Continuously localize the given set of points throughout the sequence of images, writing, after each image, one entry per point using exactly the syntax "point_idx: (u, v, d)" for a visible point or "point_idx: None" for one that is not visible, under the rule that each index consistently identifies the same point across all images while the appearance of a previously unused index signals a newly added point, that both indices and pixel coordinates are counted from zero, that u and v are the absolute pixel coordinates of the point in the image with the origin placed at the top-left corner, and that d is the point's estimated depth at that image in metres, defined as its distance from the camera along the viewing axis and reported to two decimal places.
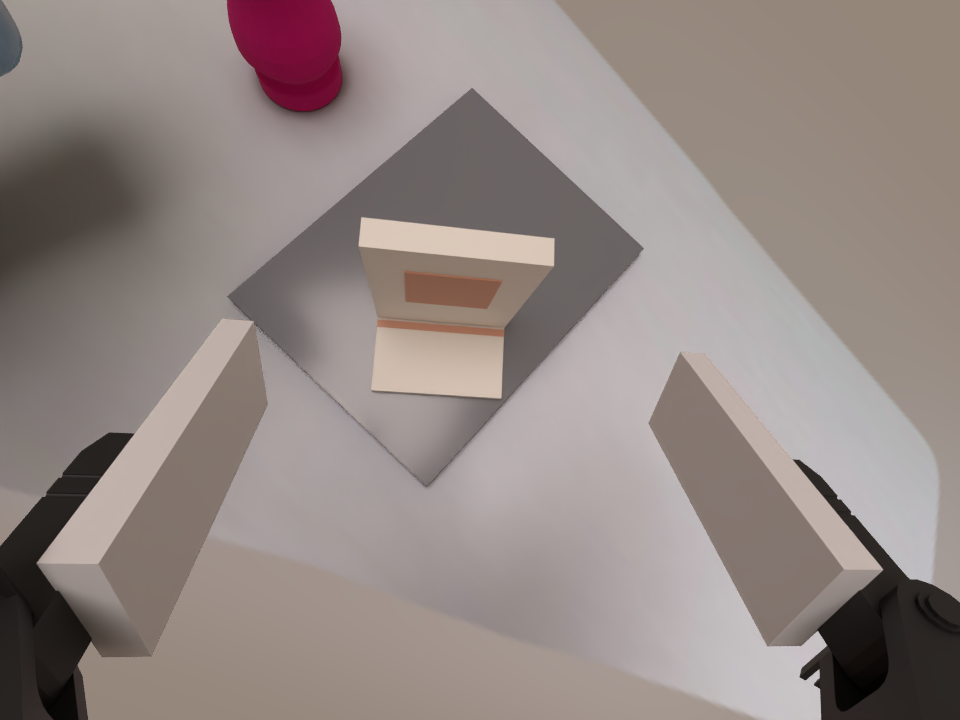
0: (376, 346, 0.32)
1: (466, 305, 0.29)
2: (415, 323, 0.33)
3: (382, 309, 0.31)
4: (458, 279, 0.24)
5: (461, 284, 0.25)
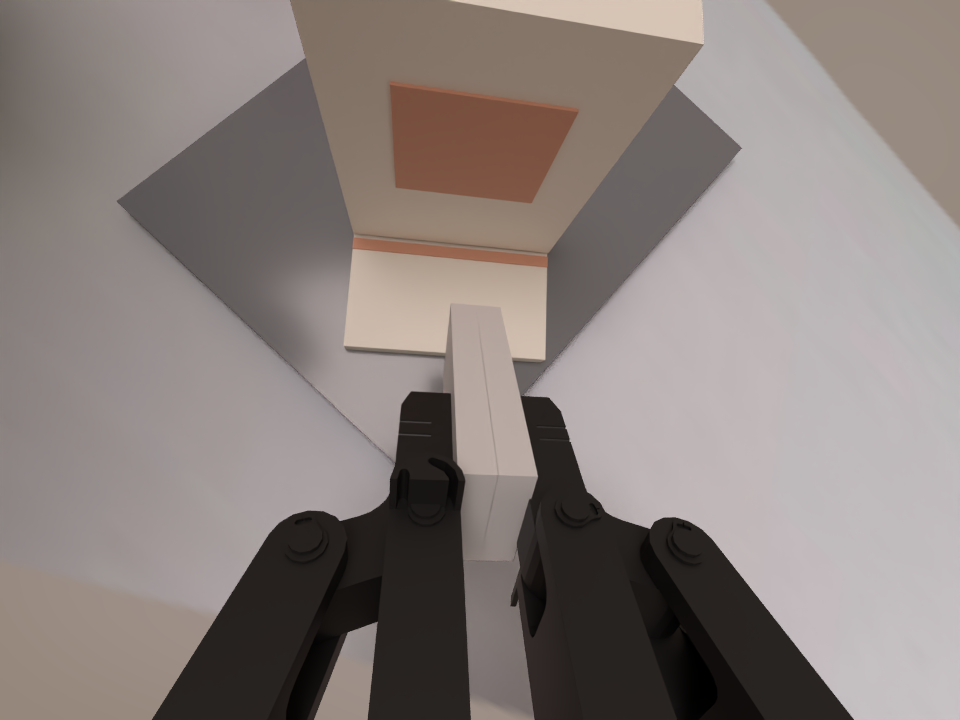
0: (351, 279, 0.21)
1: (498, 194, 0.17)
2: (412, 245, 0.21)
3: (358, 214, 0.19)
4: (494, 106, 0.13)
5: (499, 126, 0.13)
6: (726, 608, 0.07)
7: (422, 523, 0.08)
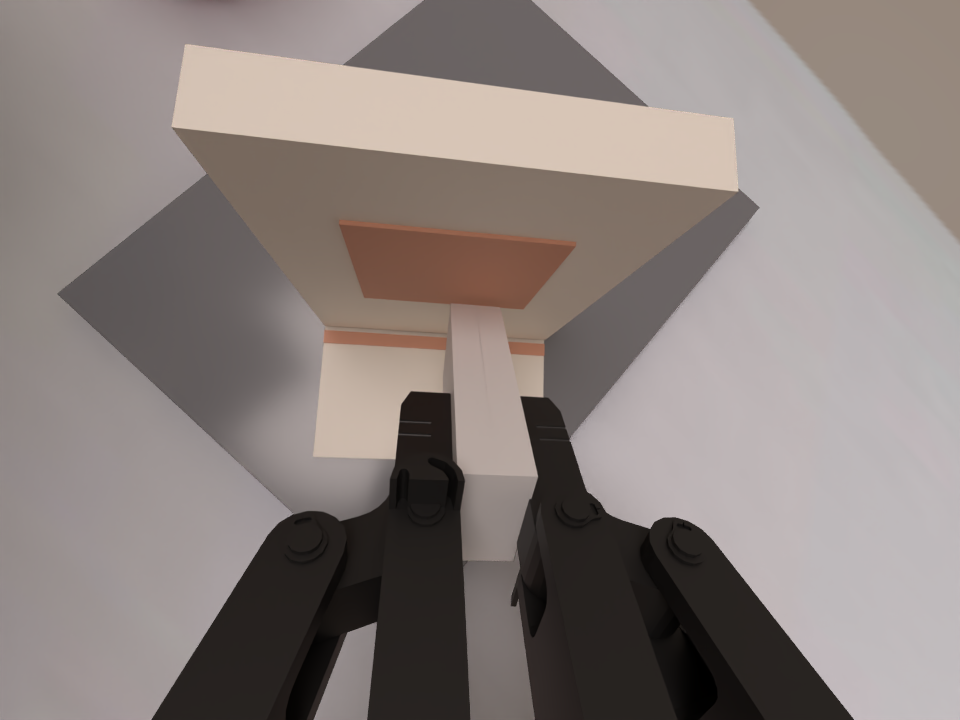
0: (322, 378, 0.18)
1: (484, 303, 0.15)
2: (391, 335, 0.19)
3: (326, 313, 0.17)
4: (472, 241, 0.10)
5: (479, 255, 0.11)
6: (726, 608, 0.07)
7: (422, 523, 0.08)
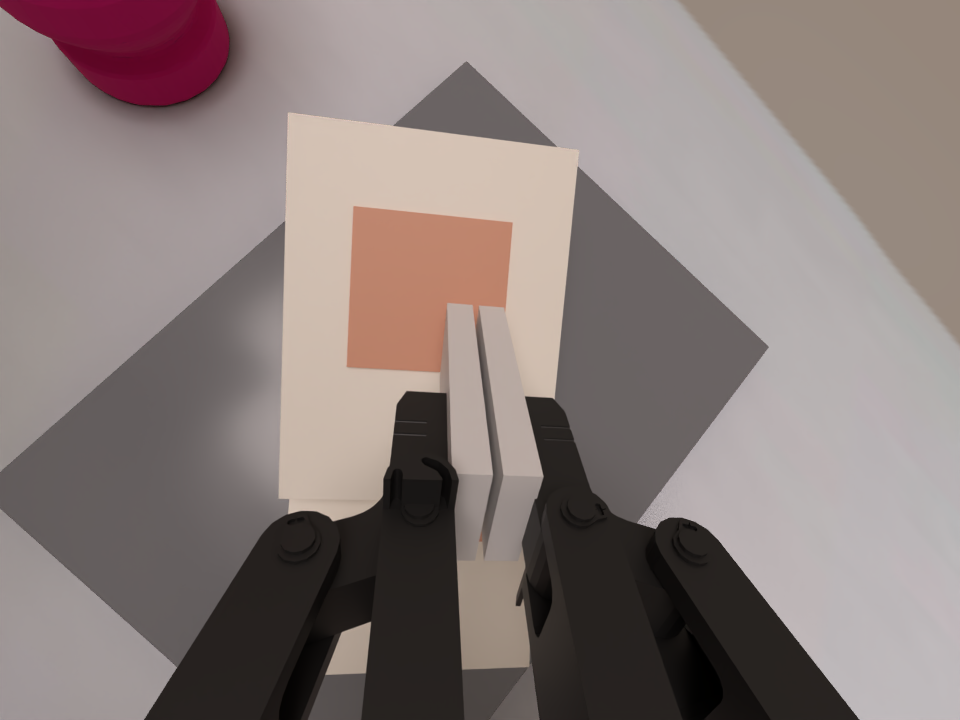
0: None
1: None
2: None
3: (293, 443, 0.15)
4: (442, 222, 0.15)
5: (449, 247, 0.15)
6: (731, 608, 0.07)
7: (416, 523, 0.08)
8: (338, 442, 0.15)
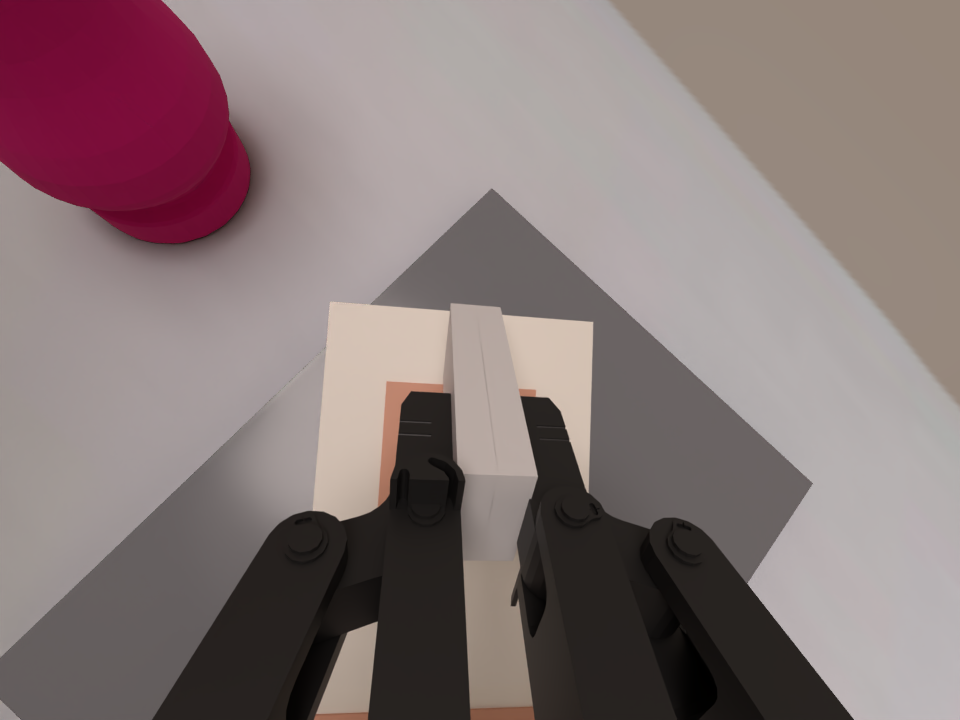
0: None
1: None
2: None
3: None
4: None
5: None
6: (726, 608, 0.07)
7: (422, 523, 0.08)
8: None
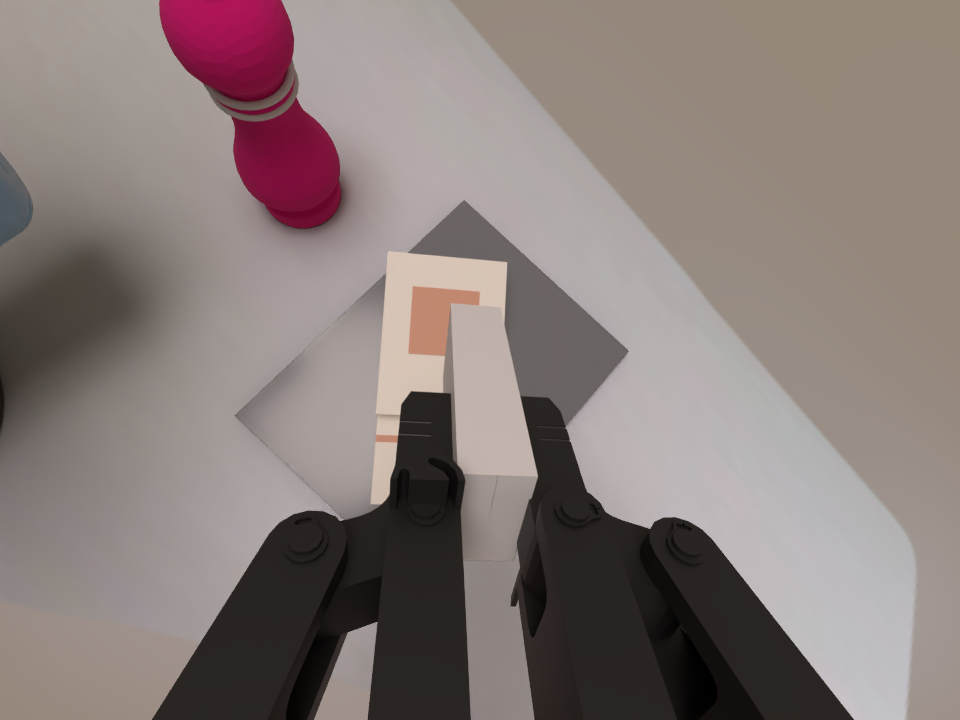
0: (374, 461, 0.34)
1: None
2: None
3: (383, 387, 0.34)
4: (449, 292, 0.35)
5: (452, 302, 0.35)
6: (726, 608, 0.07)
7: (422, 523, 0.08)
8: (403, 387, 0.34)
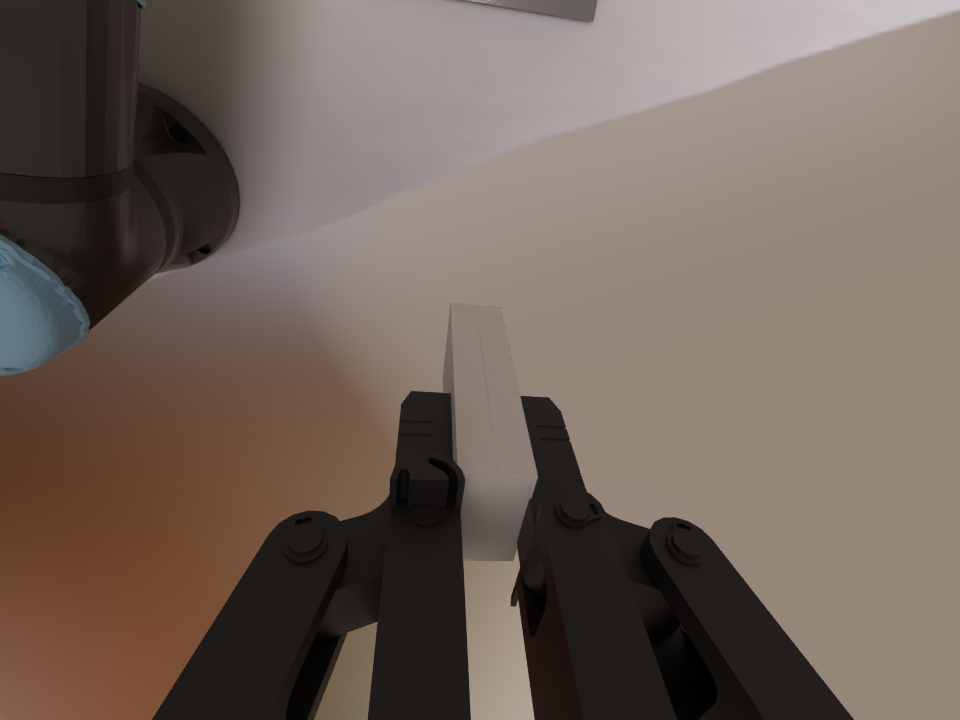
0: None
1: None
2: None
3: None
4: None
5: None
6: (726, 608, 0.07)
7: (422, 523, 0.08)
8: None
